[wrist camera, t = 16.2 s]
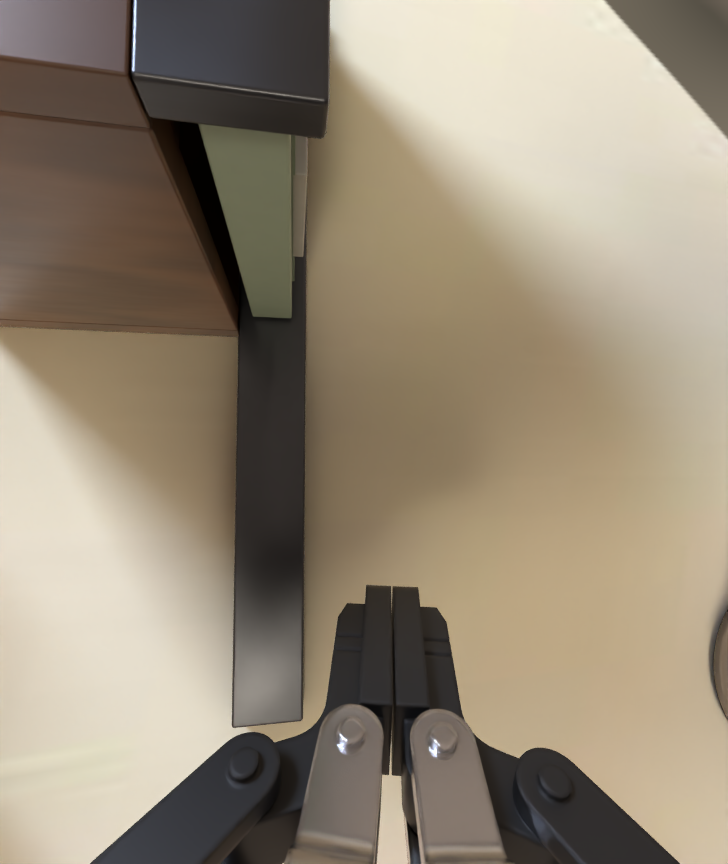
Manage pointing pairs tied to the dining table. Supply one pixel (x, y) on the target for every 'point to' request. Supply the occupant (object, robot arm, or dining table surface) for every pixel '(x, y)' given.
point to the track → (257, 336)
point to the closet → (101, 186)
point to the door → (262, 208)
